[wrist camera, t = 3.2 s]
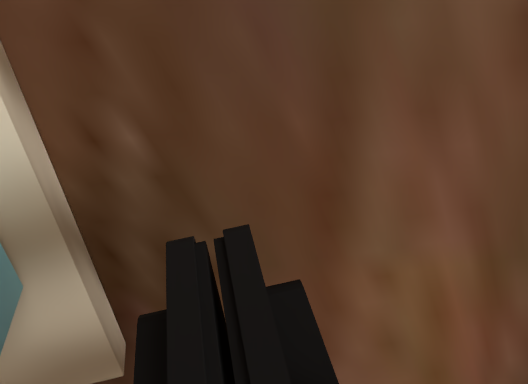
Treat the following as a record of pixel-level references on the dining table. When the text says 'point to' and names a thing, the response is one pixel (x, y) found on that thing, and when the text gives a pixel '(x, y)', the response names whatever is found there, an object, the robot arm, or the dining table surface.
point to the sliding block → (7, 295)
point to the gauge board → (48, 265)
